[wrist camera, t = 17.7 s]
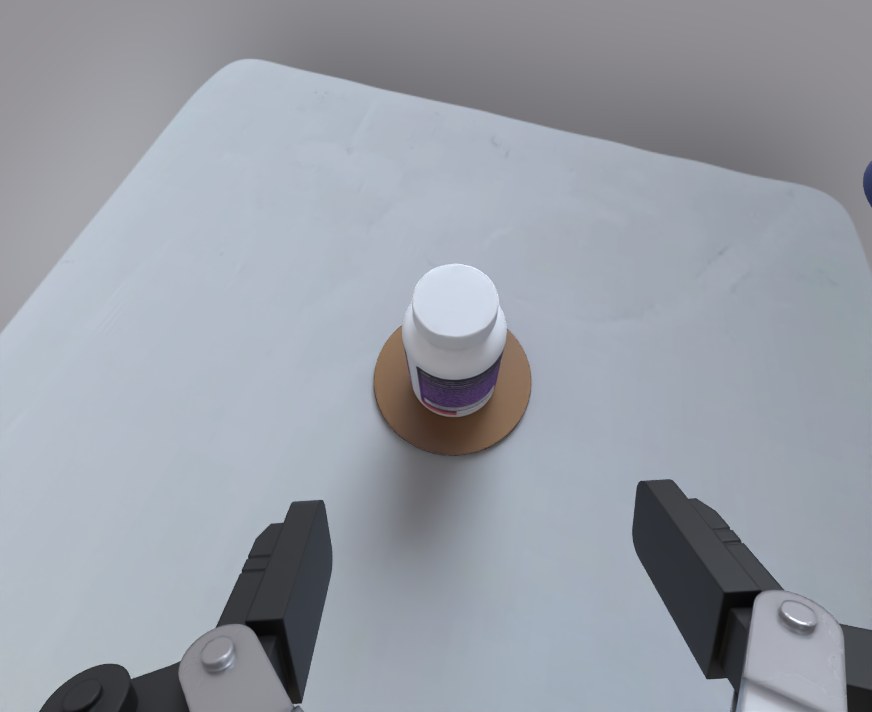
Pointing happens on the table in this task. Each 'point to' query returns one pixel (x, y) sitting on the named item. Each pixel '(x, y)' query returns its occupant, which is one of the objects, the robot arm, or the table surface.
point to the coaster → (442, 430)
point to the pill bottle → (454, 339)
